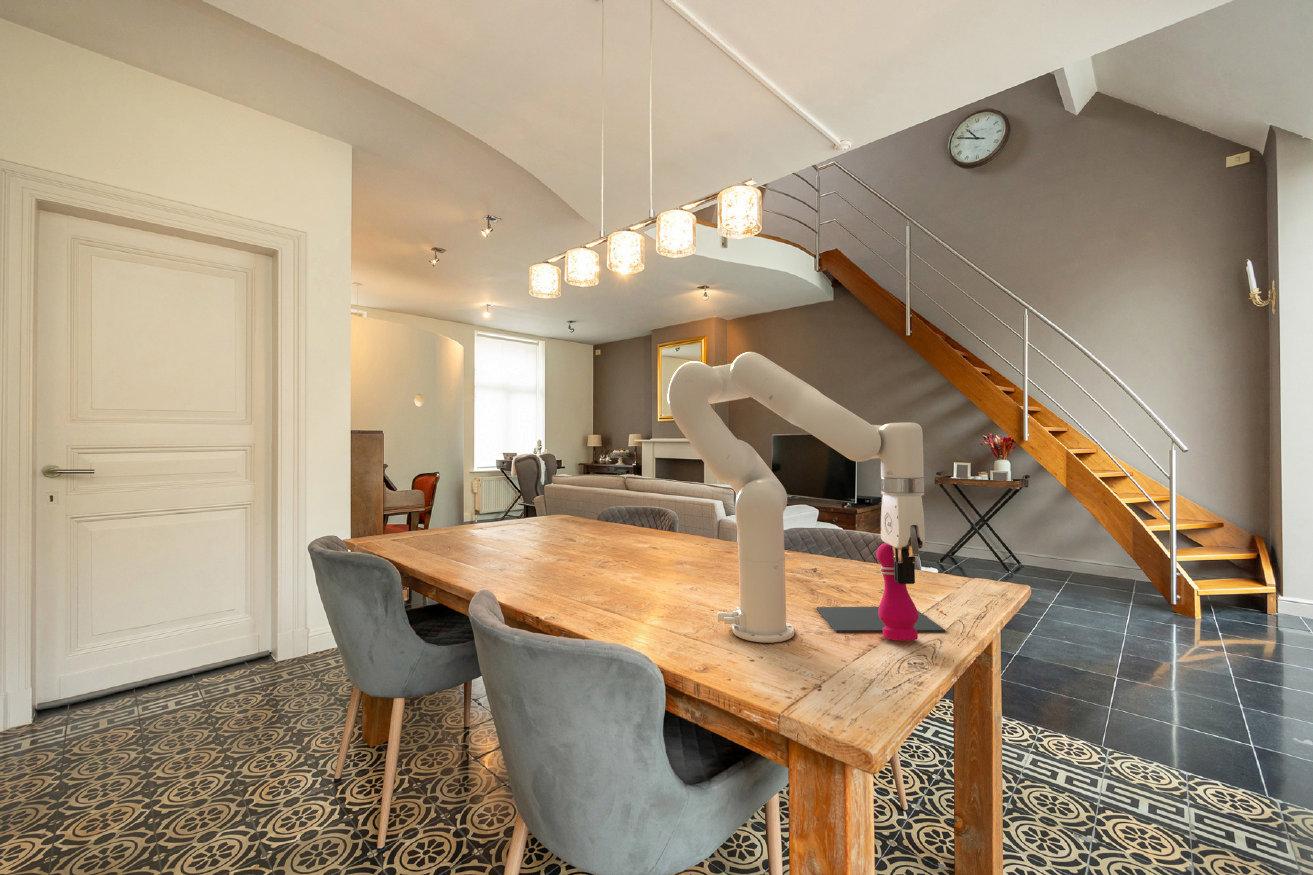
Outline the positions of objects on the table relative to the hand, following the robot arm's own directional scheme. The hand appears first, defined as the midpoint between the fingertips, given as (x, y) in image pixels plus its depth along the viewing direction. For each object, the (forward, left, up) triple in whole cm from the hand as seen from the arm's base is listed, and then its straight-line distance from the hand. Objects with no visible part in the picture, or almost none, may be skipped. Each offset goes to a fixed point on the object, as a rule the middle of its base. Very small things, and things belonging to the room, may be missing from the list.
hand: (904, 582), depth 102 cm
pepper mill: (0, +3, -12) cm, 12 cm away
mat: (0, +16, -12) cm, 20 cm away
